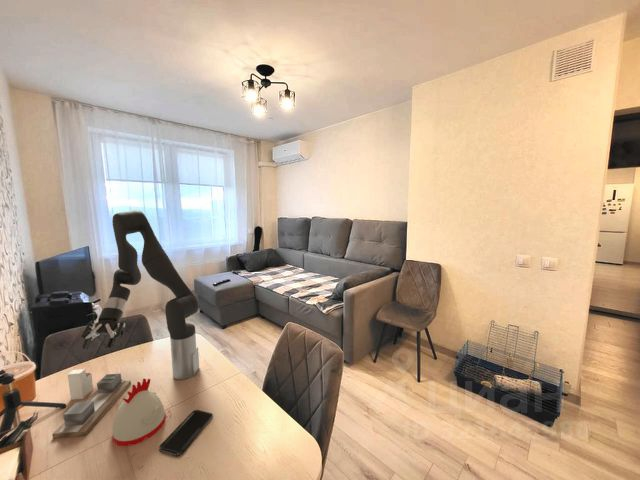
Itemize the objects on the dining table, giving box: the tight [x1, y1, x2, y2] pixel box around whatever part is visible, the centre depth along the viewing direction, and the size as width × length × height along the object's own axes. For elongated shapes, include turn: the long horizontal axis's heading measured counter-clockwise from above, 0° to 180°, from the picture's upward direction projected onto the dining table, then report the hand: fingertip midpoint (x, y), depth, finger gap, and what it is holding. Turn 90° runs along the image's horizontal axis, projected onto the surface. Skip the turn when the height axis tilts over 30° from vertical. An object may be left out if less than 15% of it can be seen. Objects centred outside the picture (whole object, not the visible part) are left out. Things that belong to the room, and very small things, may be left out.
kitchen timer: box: [111, 378, 167, 447], centre depth 82 cm, size 14×14×15 cm
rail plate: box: [51, 373, 132, 439], centre depth 89 cm, size 9×23×6 cm, turn 7°
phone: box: [158, 409, 214, 458], centre depth 81 cm, size 8×1×15 cm
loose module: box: [67, 368, 94, 401], centre depth 95 cm, size 4×5×10 cm
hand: (96, 349), depth 103 cm, fingers open, 8 cm apart
